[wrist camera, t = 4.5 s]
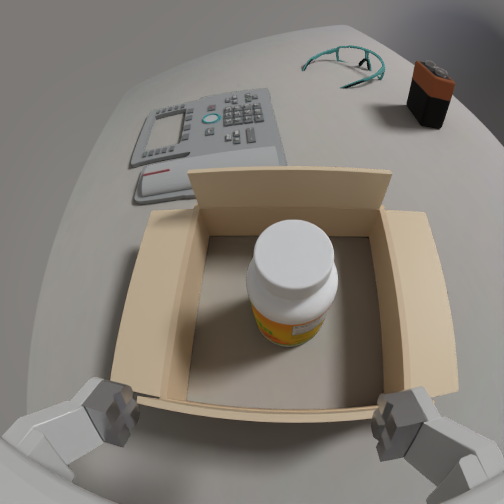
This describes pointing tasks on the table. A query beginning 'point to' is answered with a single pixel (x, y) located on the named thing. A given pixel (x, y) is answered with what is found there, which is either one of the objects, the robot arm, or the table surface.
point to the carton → (253, 224)
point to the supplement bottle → (291, 281)
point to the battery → (430, 94)
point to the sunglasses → (380, 72)
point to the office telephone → (208, 142)
